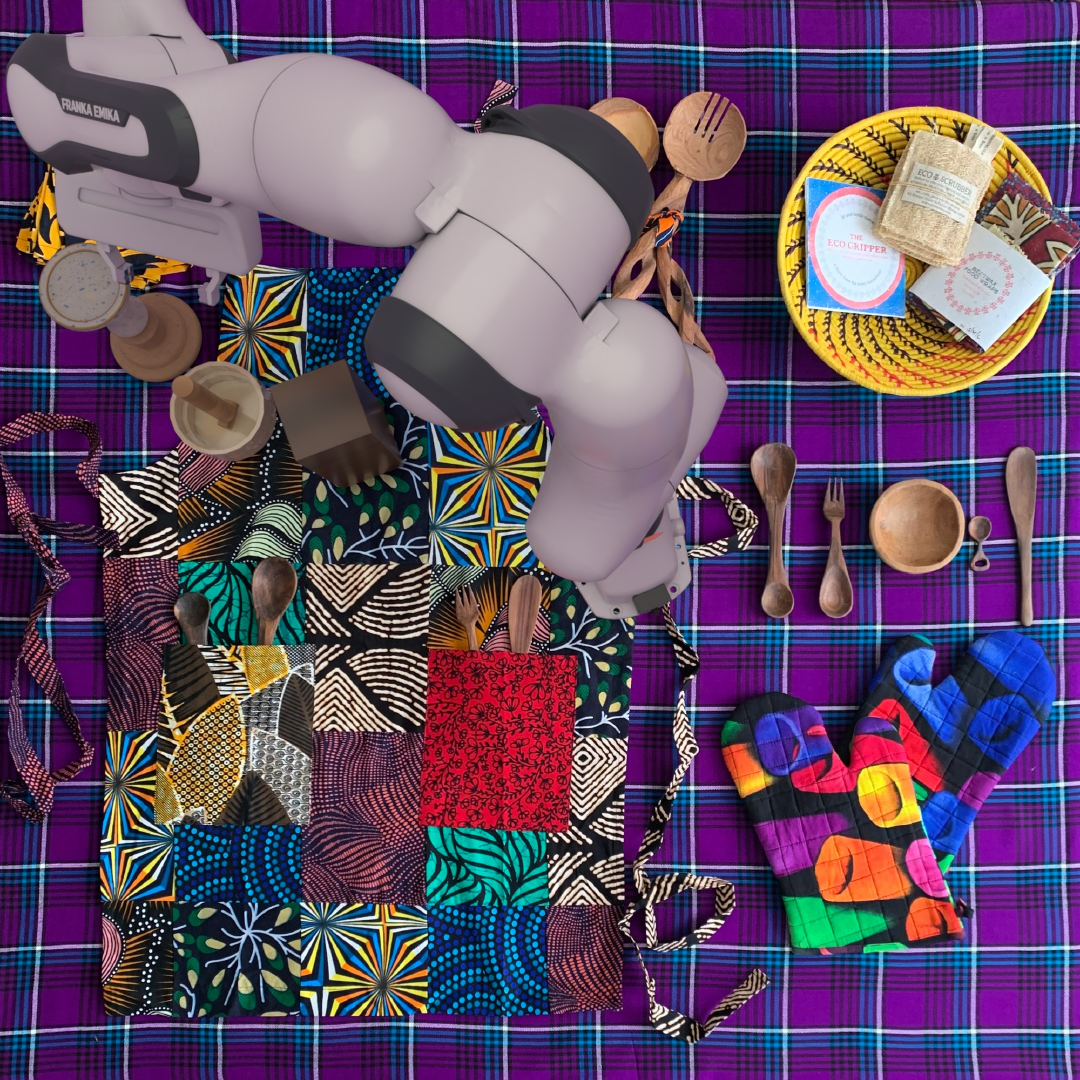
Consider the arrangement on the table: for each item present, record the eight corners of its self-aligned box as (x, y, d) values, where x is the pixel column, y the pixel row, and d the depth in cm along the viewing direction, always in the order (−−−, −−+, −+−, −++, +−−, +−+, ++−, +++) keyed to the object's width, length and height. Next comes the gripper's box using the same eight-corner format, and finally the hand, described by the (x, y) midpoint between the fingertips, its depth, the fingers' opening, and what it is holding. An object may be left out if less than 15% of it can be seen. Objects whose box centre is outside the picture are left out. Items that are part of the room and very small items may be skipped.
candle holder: (221, 345, 124) (157, 293, 104) (148, 401, 124) (70, 359, 104) (167, 277, 125) (94, 212, 105) (95, 332, 125) (8, 277, 105)
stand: (404, 465, 123) (372, 432, 101) (341, 489, 122) (295, 461, 100) (381, 404, 123) (344, 358, 101) (319, 427, 123) (268, 386, 101)
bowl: (290, 443, 123) (276, 434, 117) (205, 475, 123) (187, 467, 117) (260, 360, 124) (245, 347, 118) (176, 392, 124) (157, 380, 118)
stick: (225, 401, 123) (176, 369, 107) (243, 405, 123) (197, 374, 107) (218, 426, 123) (167, 398, 107) (236, 431, 122) (188, 403, 106)
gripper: (28, 143, 85) (55, 281, 94) (238, 194, 84) (245, 327, 93) (67, 125, 90) (89, 257, 99) (266, 172, 89) (270, 301, 98)
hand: (166, 292), depth 96 cm, fingers open, 8 cm apart
